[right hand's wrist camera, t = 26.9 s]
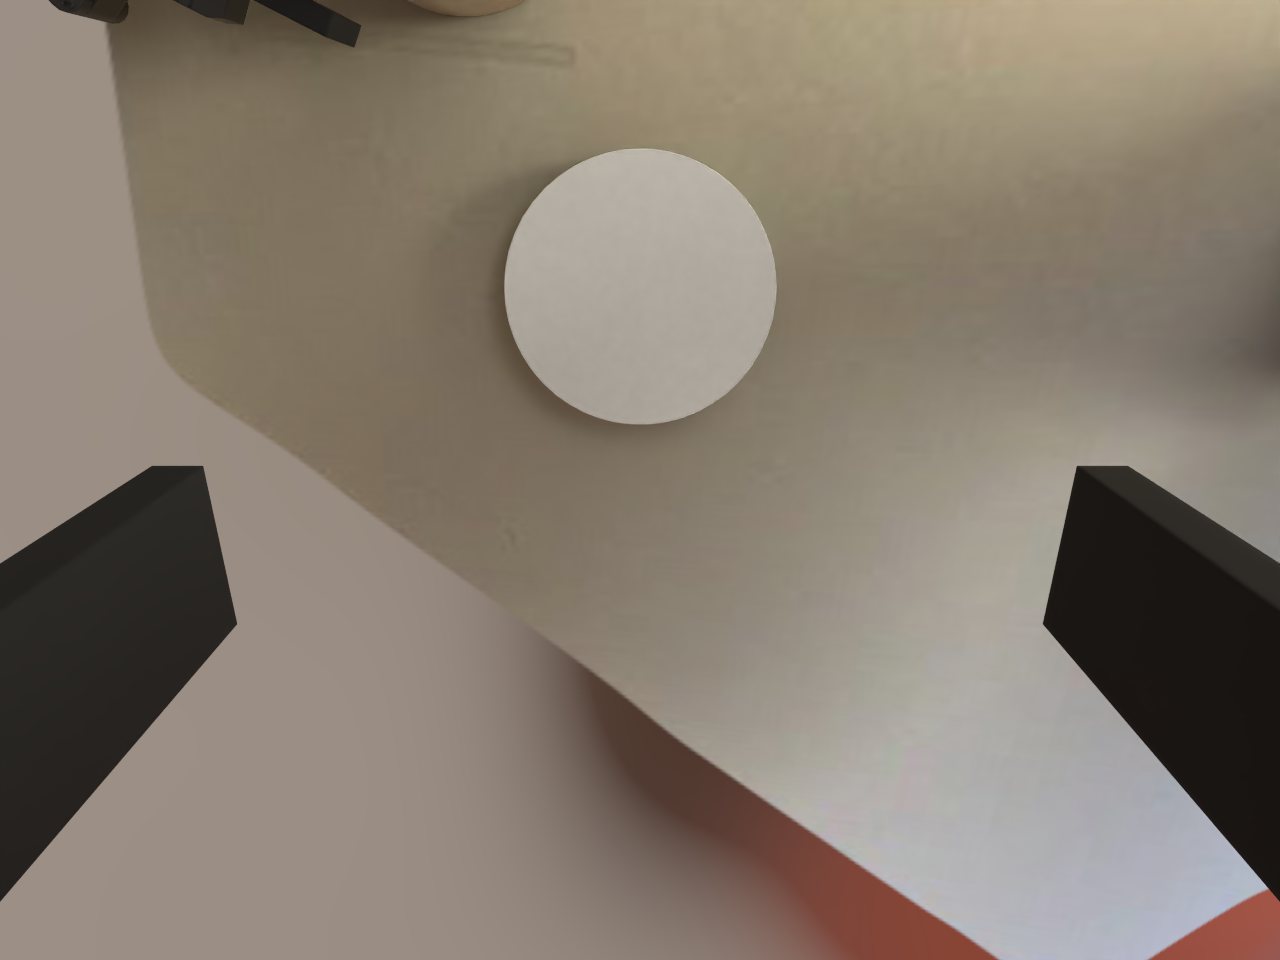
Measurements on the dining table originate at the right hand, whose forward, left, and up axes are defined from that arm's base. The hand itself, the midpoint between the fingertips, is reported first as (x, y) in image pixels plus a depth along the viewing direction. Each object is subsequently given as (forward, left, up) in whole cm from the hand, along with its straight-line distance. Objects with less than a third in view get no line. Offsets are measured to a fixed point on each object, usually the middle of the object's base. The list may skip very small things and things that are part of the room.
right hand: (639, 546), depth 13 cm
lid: (0, 0, -24) cm, 24 cm away
